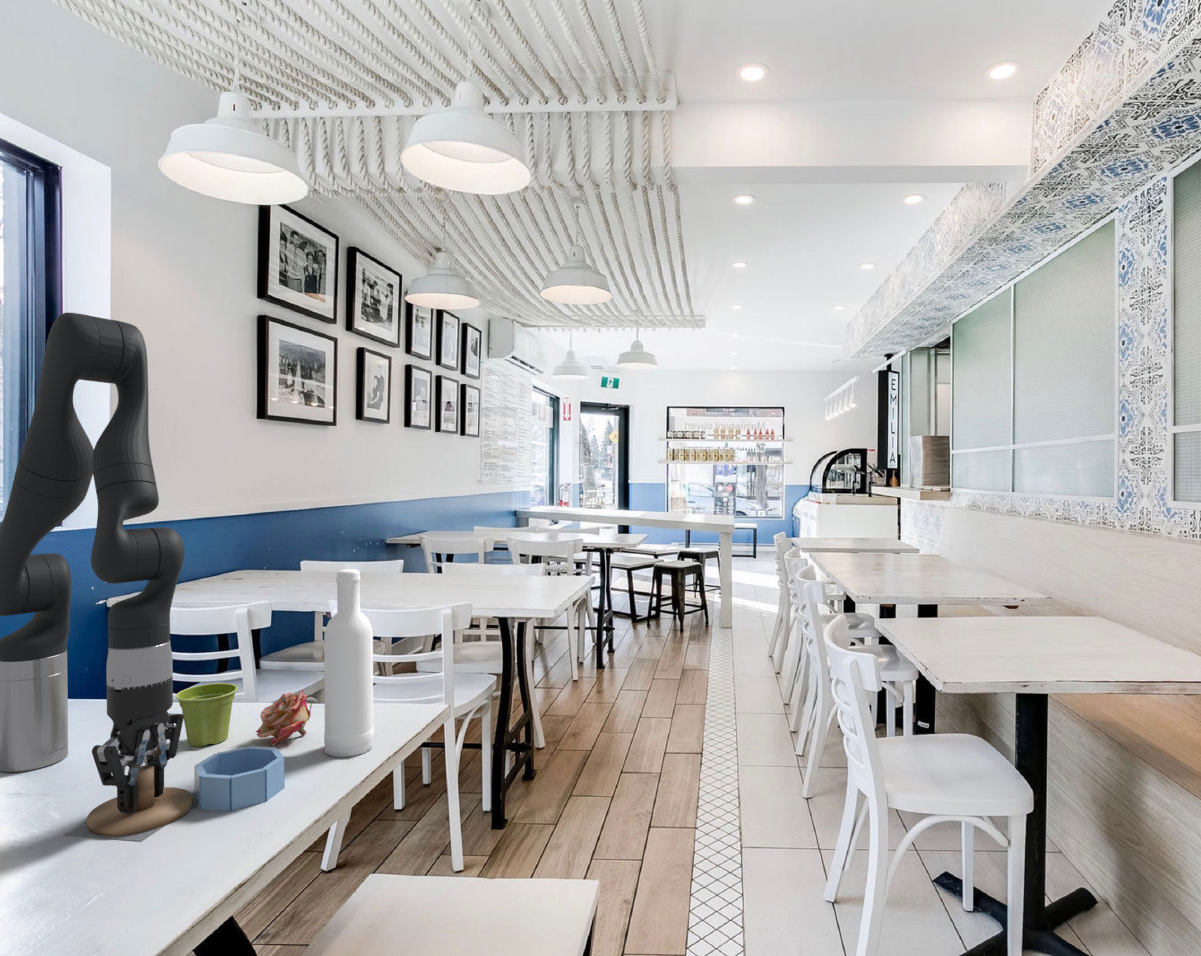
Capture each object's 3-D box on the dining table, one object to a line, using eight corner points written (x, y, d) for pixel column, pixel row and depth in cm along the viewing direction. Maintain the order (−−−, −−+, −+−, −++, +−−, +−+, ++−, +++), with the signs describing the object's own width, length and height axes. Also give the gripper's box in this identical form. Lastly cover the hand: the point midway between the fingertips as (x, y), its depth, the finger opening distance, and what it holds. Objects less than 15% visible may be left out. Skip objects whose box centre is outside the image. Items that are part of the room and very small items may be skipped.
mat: (63, 839, 93) (63, 835, 93) (141, 794, 105) (141, 790, 105) (141, 845, 91) (141, 841, 91) (211, 799, 104) (210, 794, 104)
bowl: (178, 811, 100) (178, 775, 100) (229, 777, 111) (229, 745, 111) (252, 816, 99) (252, 779, 99) (297, 781, 110) (296, 748, 110)
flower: (309, 714, 135) (281, 684, 132) (335, 715, 129) (307, 683, 126) (269, 758, 128) (239, 728, 125) (296, 761, 122) (265, 728, 119)
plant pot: (212, 753, 121) (211, 701, 121) (163, 748, 123) (162, 697, 123) (250, 733, 130) (249, 684, 130) (204, 729, 132) (203, 681, 132)
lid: (63, 833, 93) (62, 786, 93) (135, 791, 105) (135, 750, 105) (148, 839, 92) (147, 791, 91) (211, 796, 103) (211, 754, 103)
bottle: (339, 761, 117) (338, 575, 117) (315, 749, 122) (313, 570, 122) (383, 747, 123) (382, 570, 123) (358, 736, 128) (357, 566, 128)
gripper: (154, 662, 106) (155, 780, 106) (69, 691, 92) (71, 827, 92) (201, 663, 105) (202, 782, 105) (123, 694, 90) (125, 831, 91)
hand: (141, 803), depth 98 cm, fingers open, 4 cm apart
